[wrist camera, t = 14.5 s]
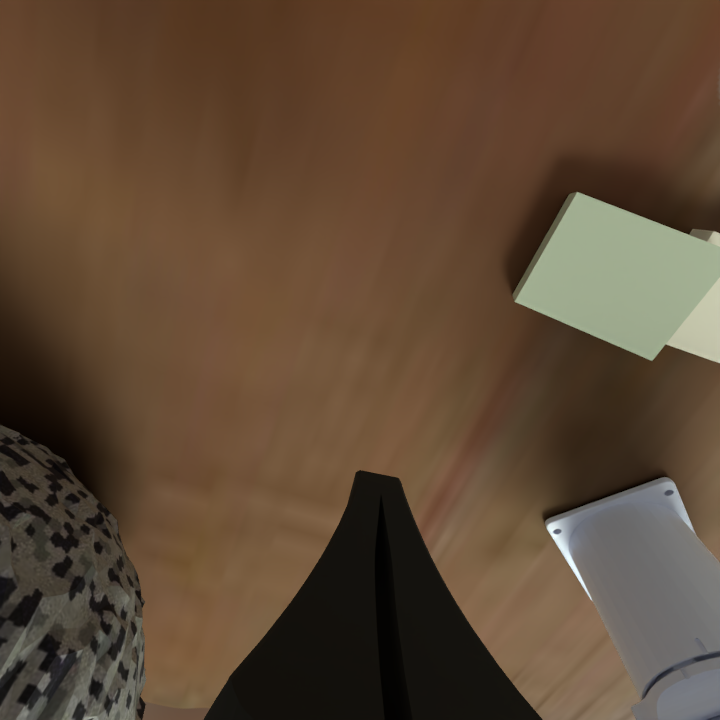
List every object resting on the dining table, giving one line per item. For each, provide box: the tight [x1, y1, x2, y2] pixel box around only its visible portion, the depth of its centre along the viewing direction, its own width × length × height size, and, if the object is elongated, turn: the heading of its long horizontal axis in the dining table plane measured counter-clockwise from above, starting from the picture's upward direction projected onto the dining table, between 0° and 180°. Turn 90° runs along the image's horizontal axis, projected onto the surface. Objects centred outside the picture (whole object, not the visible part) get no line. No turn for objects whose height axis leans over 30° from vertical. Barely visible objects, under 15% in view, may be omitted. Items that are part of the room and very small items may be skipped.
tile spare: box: [512, 192, 720, 361], centre depth 17 cm, size 2×5×6 cm
